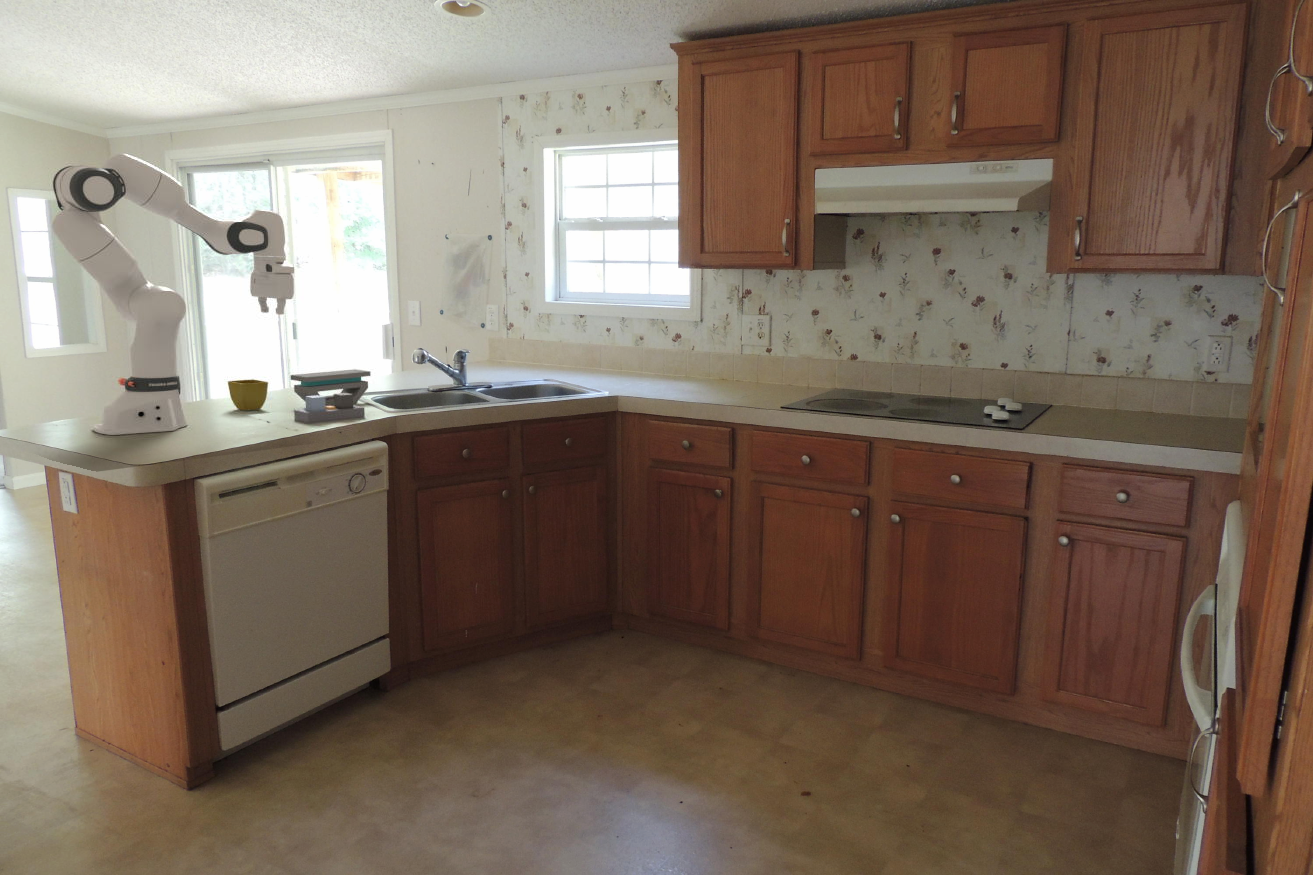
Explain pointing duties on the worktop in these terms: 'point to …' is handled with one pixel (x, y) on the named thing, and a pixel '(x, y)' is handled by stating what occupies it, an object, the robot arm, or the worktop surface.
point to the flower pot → (248, 393)
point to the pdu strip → (329, 414)
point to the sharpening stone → (332, 384)
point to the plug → (315, 403)
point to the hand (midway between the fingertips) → (272, 313)
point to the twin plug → (343, 400)
